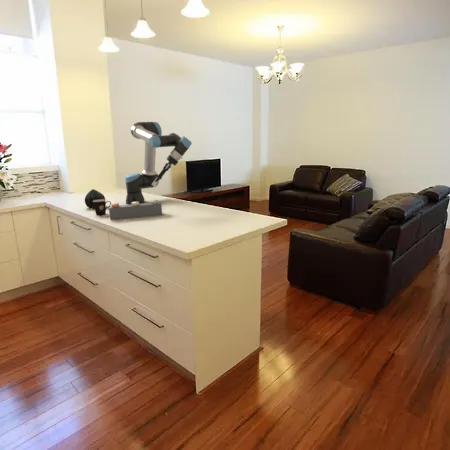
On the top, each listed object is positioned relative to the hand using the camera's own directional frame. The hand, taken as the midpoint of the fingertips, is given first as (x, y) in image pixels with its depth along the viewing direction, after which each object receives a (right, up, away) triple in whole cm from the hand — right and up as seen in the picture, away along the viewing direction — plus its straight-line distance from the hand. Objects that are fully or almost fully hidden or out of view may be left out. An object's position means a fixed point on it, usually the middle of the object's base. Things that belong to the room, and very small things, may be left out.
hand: (153, 185), depth 230 cm
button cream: (-12, -15, -1) cm, 19 cm away
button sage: (+1, -14, +2) cm, 14 cm away
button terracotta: (-24, -16, -4) cm, 29 cm away
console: (-11, -21, +1) cm, 24 cm away
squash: (-52, -13, +35) cm, 64 cm away
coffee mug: (-38, -19, +12) cm, 44 cm away
